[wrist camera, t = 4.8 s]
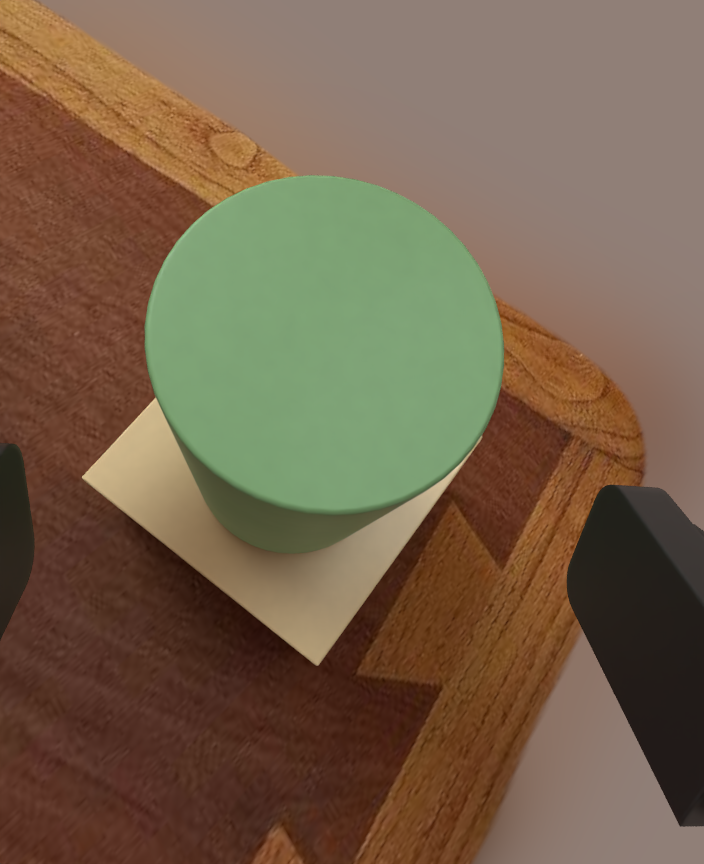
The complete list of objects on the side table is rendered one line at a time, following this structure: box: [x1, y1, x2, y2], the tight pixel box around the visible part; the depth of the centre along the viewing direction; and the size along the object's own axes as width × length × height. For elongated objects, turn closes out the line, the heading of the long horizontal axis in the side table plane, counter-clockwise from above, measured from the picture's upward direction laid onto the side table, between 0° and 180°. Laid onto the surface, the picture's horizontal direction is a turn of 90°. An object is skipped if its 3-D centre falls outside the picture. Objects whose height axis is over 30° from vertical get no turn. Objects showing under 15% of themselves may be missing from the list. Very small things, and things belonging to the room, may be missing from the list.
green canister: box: [145, 175, 504, 554], centre depth 14 cm, size 5×5×9 cm
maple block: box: [82, 398, 482, 666], centre depth 21 cm, size 8×8×5 cm
